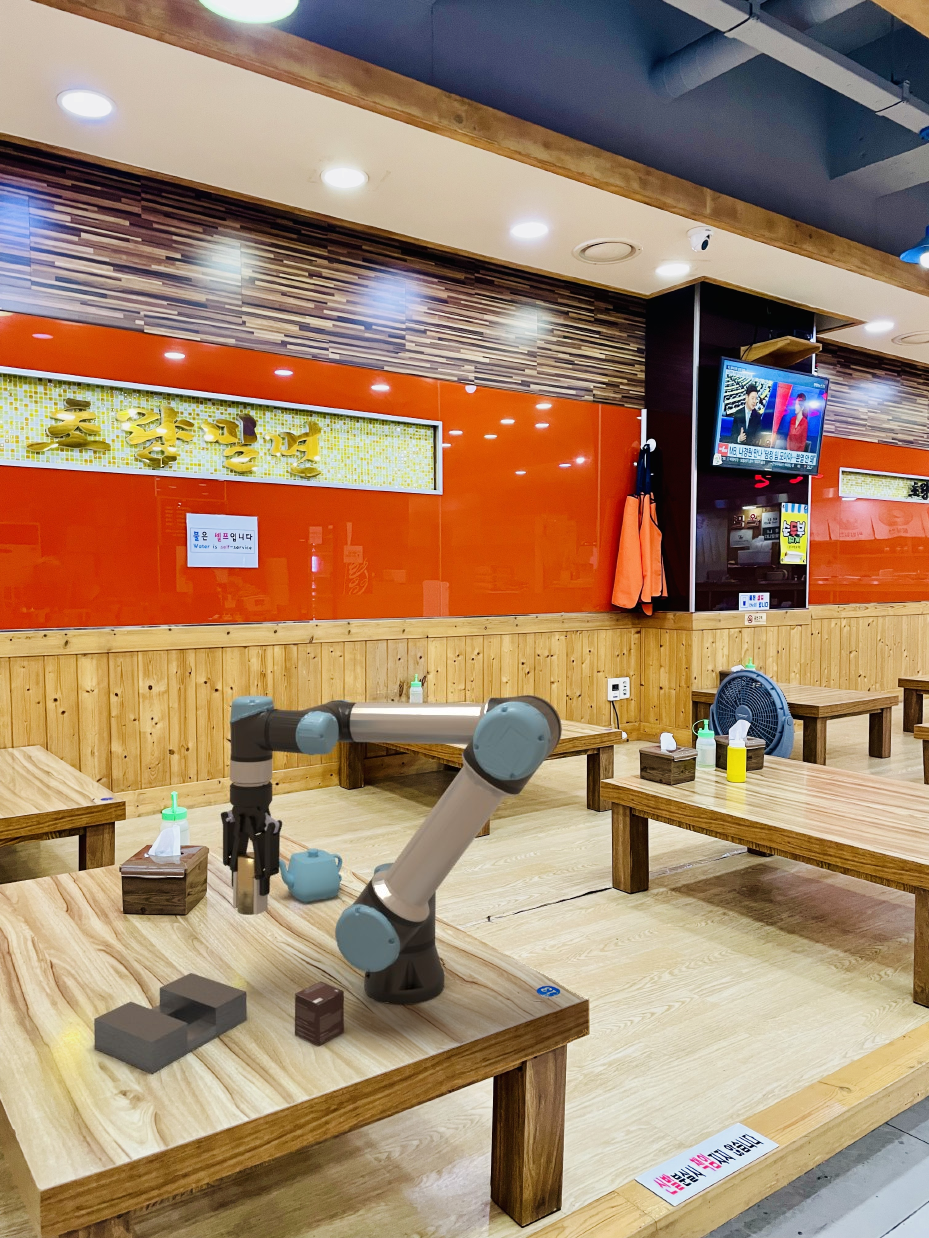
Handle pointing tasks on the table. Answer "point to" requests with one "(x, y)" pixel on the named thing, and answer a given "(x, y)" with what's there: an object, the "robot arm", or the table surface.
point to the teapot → (312, 875)
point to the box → (319, 1013)
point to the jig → (170, 1022)
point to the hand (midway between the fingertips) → (250, 908)
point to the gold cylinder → (246, 883)
